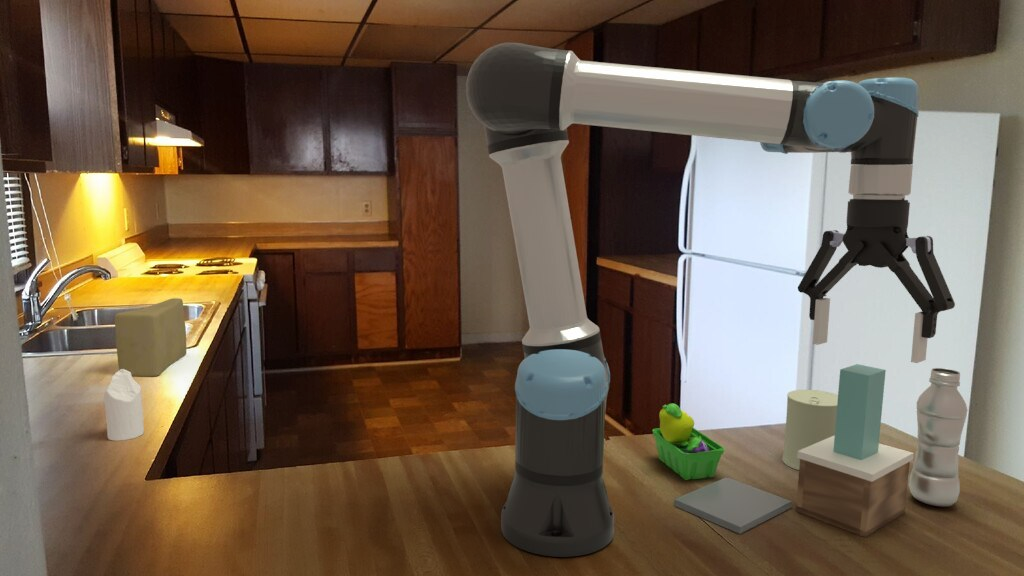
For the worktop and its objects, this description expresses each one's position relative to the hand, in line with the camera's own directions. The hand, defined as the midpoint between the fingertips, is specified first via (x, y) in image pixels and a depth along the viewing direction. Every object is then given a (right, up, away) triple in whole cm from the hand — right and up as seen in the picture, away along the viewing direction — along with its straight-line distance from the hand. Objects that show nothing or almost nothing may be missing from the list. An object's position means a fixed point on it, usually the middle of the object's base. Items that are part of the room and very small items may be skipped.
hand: (866, 351), depth 104 cm
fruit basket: (-21, -21, +19) cm, 35 cm away
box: (-1, -23, +4) cm, 24 cm away
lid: (0, -17, +3) cm, 17 cm away
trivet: (-17, -23, +5) cm, 29 cm away
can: (+1, -21, +22) cm, 30 cm away
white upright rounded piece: (-118, -18, +30) cm, 123 cm away
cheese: (-134, -10, +78) cm, 156 cm away
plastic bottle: (+13, -23, +7) cm, 28 cm away
